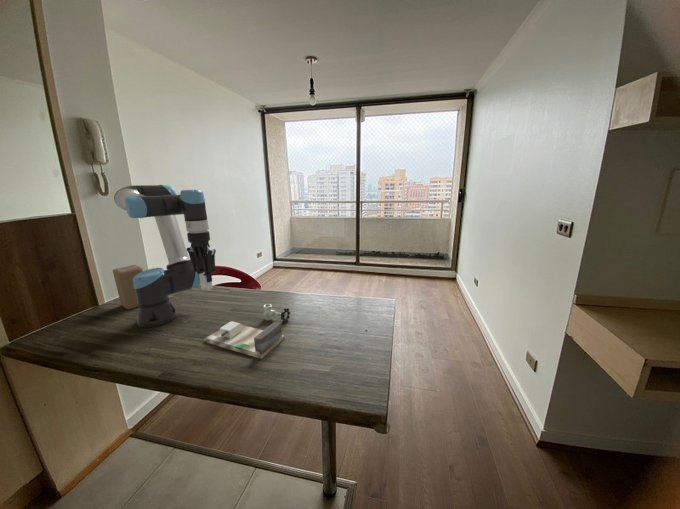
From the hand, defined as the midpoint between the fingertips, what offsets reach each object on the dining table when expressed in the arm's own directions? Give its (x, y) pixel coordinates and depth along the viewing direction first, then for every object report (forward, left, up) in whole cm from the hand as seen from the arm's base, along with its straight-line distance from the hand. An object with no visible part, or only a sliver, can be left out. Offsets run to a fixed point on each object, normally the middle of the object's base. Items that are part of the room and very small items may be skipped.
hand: (207, 288), depth 106 cm
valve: (+19, +18, -20) cm, 33 cm away
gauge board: (+17, 0, -19) cm, 26 cm away
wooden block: (-60, +4, -20) cm, 63 cm away
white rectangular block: (+10, -1, -18) cm, 21 cm away
